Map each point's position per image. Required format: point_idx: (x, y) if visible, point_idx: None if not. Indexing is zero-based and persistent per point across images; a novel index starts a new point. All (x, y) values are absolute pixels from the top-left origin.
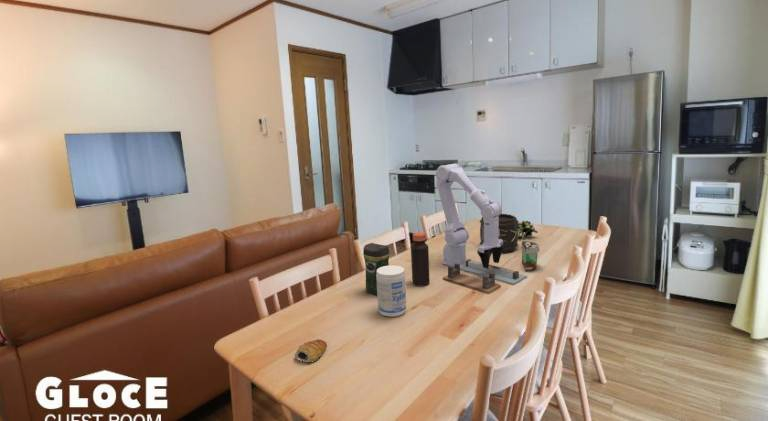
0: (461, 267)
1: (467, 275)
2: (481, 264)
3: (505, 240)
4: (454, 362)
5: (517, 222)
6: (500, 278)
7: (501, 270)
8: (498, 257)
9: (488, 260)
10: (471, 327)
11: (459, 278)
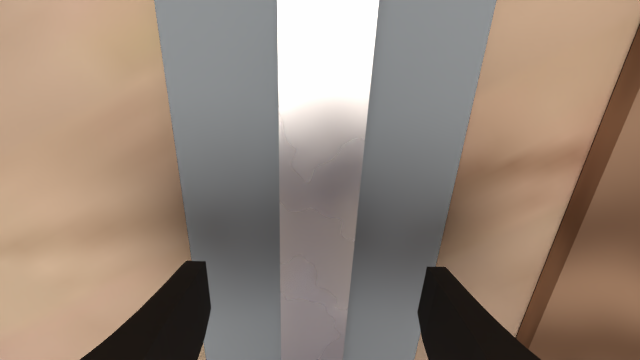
0: None
1: (542, 324)
2: (330, 357)
3: None
4: None
5: None
6: (444, 64)
7: (366, 120)
8: (174, 318)
9: (508, 345)
10: None
11: (636, 334)
